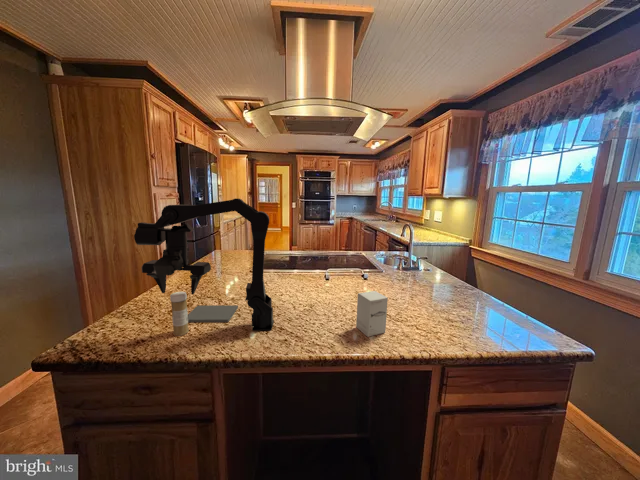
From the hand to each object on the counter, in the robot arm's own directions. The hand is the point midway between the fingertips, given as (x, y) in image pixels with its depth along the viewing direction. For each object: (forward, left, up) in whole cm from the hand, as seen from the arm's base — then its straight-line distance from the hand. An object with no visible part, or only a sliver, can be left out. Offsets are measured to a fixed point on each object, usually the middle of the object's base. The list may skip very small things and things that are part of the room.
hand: (178, 293), depth 79 cm
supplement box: (-63, -1, -14) cm, 64 cm away
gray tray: (-5, -13, -14) cm, 19 cm away
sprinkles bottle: (0, 0, -14) cm, 14 cm away
